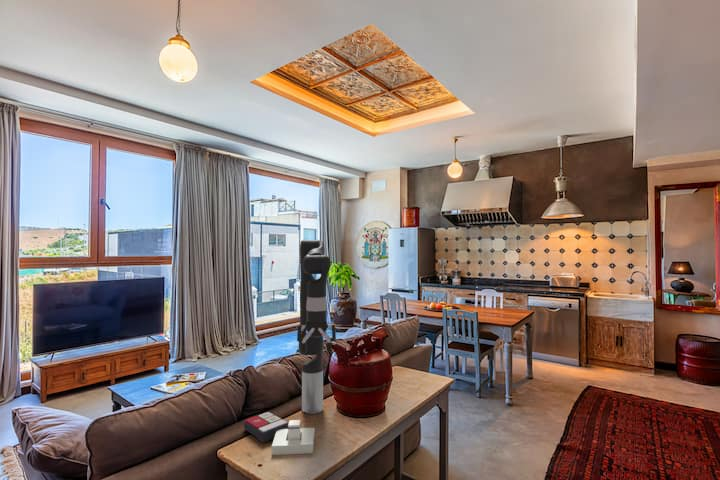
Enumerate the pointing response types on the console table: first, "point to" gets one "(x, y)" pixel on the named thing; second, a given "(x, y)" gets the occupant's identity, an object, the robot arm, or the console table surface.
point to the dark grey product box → (264, 426)
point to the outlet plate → (293, 442)
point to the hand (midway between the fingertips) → (316, 352)
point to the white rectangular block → (294, 430)
